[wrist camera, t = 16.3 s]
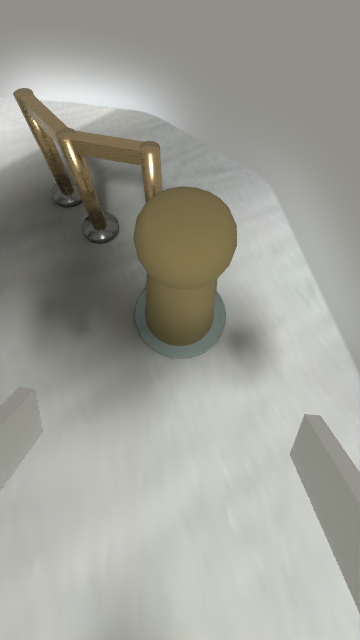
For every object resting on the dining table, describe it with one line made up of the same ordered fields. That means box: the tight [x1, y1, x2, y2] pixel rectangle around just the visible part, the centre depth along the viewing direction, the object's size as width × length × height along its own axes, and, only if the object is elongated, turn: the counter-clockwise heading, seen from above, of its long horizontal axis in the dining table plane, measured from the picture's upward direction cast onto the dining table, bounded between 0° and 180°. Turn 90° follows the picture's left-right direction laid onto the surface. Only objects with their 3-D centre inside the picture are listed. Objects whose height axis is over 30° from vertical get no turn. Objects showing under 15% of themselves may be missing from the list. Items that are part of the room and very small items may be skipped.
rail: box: [14, 88, 162, 243], centre depth 21 cm, size 15×8×9 cm, turn 79°
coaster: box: [135, 287, 226, 358], centre depth 21 cm, size 8×8×1 cm
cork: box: [134, 187, 237, 346], centre depth 15 cm, size 6×6×11 cm
